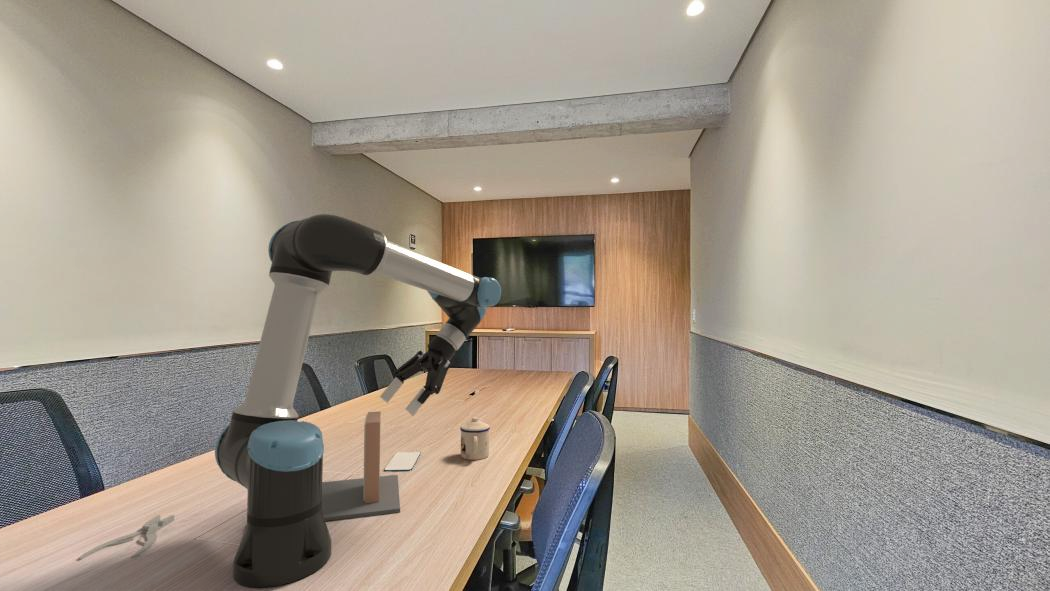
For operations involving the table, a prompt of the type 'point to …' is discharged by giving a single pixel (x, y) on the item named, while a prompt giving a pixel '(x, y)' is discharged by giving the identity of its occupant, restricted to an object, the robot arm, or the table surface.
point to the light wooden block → (372, 457)
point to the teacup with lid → (474, 440)
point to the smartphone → (402, 461)
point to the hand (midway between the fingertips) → (395, 405)
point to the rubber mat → (358, 498)
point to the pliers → (148, 528)
